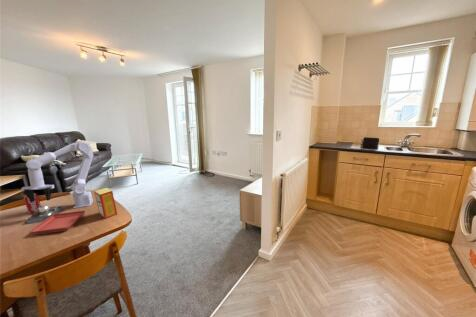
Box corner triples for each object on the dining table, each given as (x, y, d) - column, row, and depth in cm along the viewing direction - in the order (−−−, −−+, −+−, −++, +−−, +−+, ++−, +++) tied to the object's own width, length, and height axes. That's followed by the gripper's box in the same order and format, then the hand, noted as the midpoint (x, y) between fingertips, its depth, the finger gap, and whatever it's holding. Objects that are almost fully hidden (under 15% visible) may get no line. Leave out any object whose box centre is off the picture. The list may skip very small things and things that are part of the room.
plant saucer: (29, 237, 101) (27, 231, 100) (54, 218, 118) (52, 213, 117) (69, 232, 104) (67, 226, 103) (87, 214, 121) (86, 210, 120)
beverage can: (44, 209, 130) (39, 192, 127) (34, 214, 124) (28, 197, 121) (36, 209, 130) (31, 192, 127) (25, 214, 124) (20, 196, 121)
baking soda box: (99, 214, 121) (94, 190, 117) (111, 209, 126) (106, 187, 122) (105, 219, 115) (99, 194, 111) (117, 214, 120) (112, 190, 116)
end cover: (56, 212, 125) (53, 202, 123) (50, 218, 119) (47, 207, 117) (42, 215, 123) (39, 205, 121) (35, 220, 116) (32, 210, 114)
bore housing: (62, 209, 128) (61, 205, 127) (53, 219, 117) (52, 214, 117) (39, 213, 124) (37, 209, 123) (27, 223, 113) (26, 219, 112)
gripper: (15, 182, 109) (20, 204, 112) (47, 180, 114) (51, 201, 117) (24, 178, 116) (29, 200, 119) (54, 176, 120) (58, 197, 123)
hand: (40, 200), depth 118 cm, fingers open, 7 cm apart
